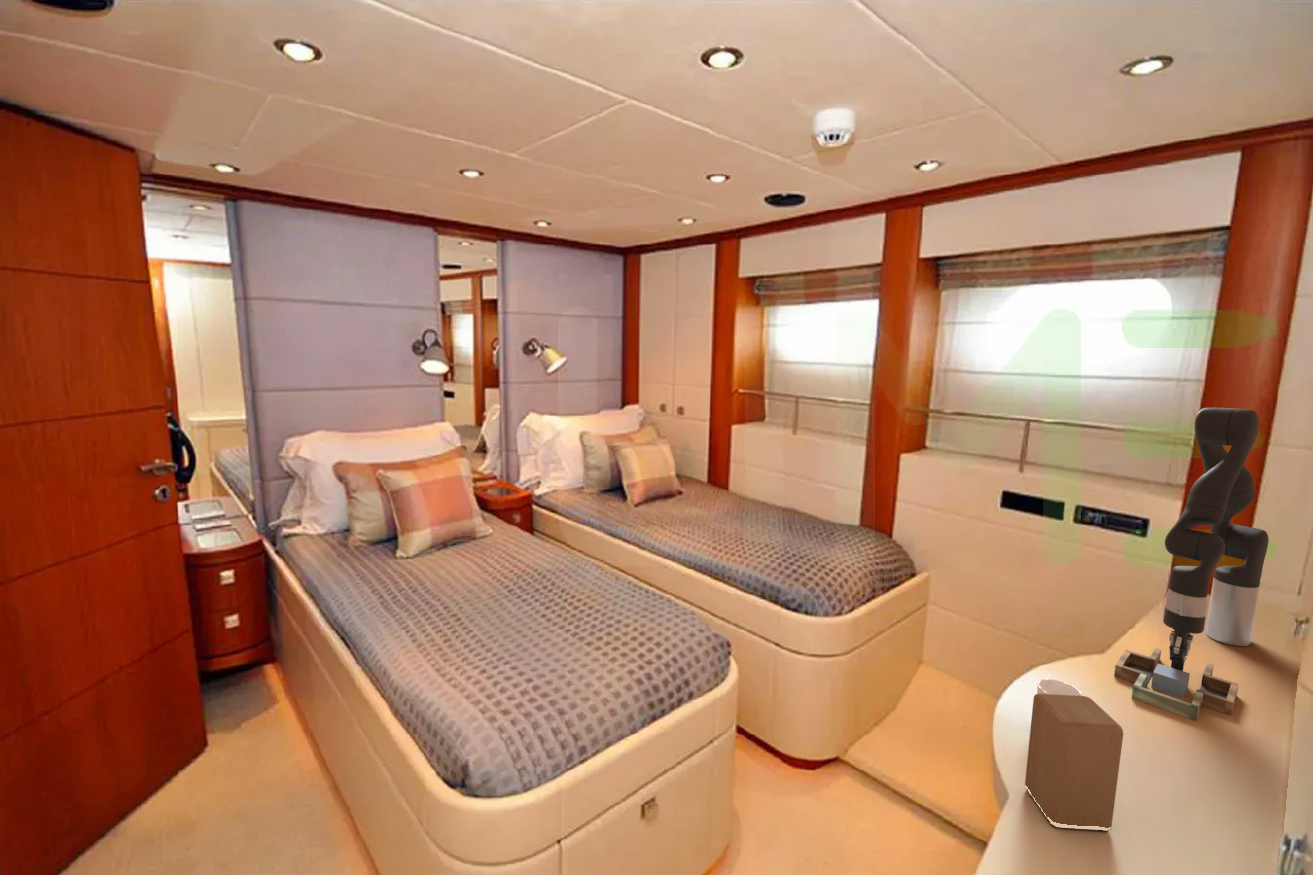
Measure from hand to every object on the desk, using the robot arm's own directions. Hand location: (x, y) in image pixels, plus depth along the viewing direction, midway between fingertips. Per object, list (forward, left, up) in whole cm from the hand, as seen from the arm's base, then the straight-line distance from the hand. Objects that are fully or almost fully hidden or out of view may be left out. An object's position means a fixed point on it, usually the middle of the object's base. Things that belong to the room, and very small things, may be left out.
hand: (1176, 674), depth 146 cm
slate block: (+5, 0, -2) cm, 5 cm away
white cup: (+45, -14, -2) cm, 47 cm away
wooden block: (+69, -6, -2) cm, 69 cm away
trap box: (+3, 0, -2) cm, 4 cm away
